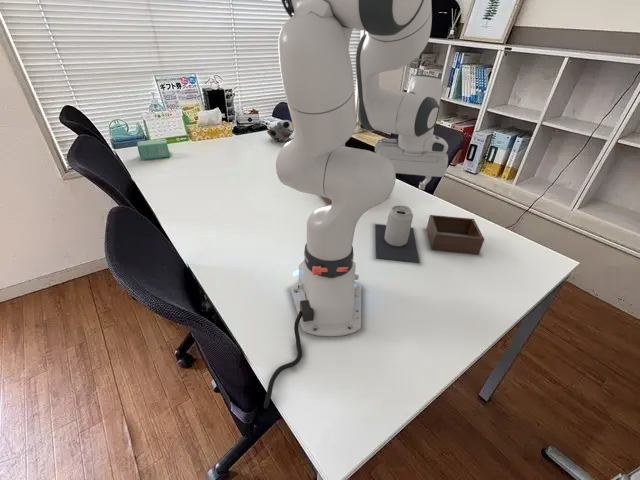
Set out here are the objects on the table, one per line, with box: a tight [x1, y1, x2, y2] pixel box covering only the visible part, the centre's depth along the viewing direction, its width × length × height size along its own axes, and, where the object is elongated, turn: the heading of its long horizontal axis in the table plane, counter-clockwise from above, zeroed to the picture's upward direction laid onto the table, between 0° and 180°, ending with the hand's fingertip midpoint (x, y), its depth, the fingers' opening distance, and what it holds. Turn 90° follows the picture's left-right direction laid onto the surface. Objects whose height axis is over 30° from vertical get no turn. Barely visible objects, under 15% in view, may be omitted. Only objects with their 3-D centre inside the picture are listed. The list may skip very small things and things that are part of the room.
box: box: [136, 138, 171, 161], centre depth 163 cm, size 7×14×8 cm, turn 116°
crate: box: [425, 214, 485, 256], centre depth 108 cm, size 13×15×6 cm
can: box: [385, 204, 414, 246], centre depth 104 cm, size 8×8×12 cm
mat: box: [374, 223, 420, 264], centre depth 108 cm, size 20×13×1 cm, turn 173°
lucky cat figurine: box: [266, 119, 294, 143], centre depth 192 cm, size 15×12×14 cm
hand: (405, 187), depth 97 cm, fingers open, 8 cm apart
